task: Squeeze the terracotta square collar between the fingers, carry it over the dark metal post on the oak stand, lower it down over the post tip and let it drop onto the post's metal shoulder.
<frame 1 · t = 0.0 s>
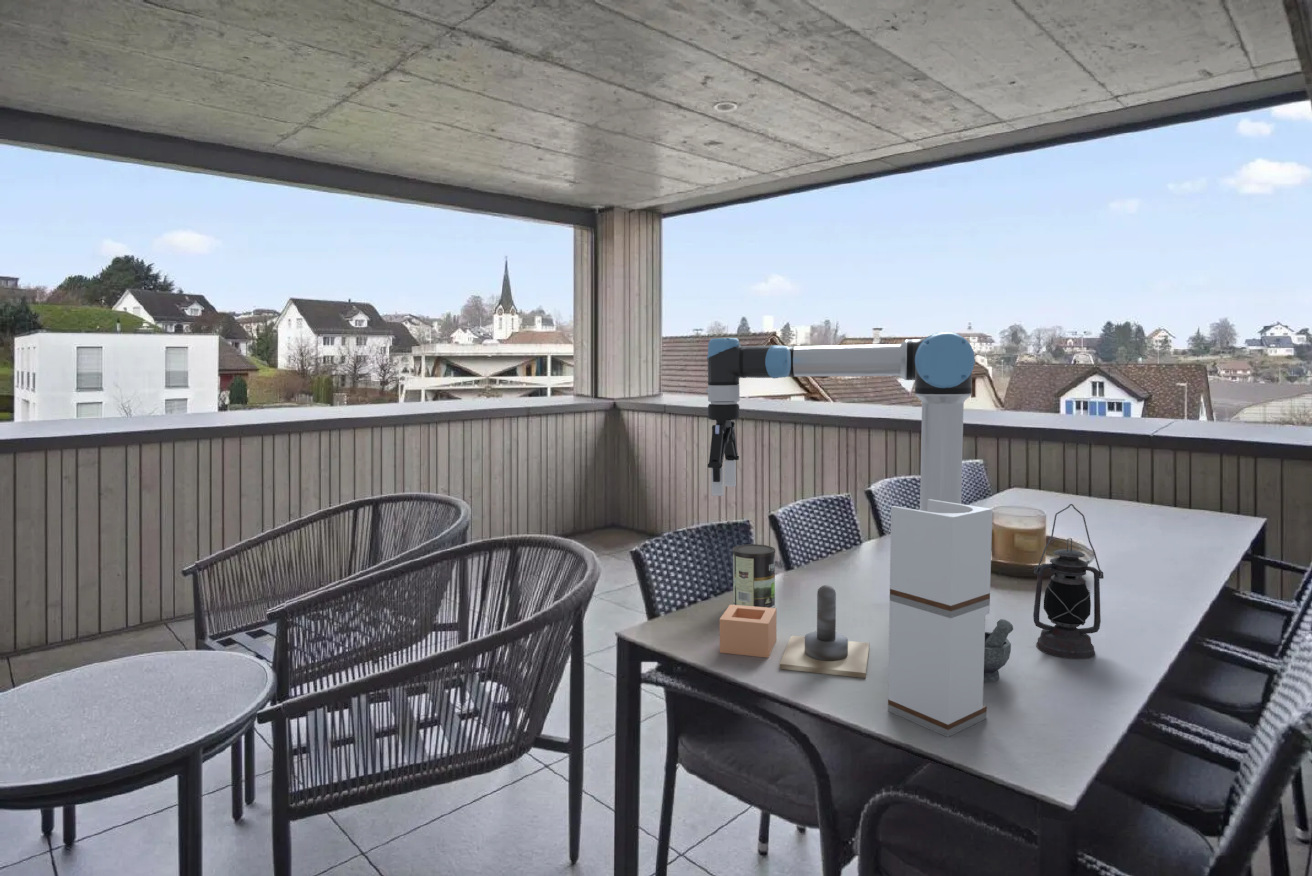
hand: (724, 490, 186), 28 cm above the table, tool pointing down, fingers open, 13 cm apart
coffee can: (753, 606, 187), on the table
mortar and pestle: (983, 677, 143), on the table
post stand: (826, 657, 153), on the table
lantern: (1065, 650, 156), on the table
square collar: (748, 646, 160), on the table
white square vase: (936, 715, 128), on the table
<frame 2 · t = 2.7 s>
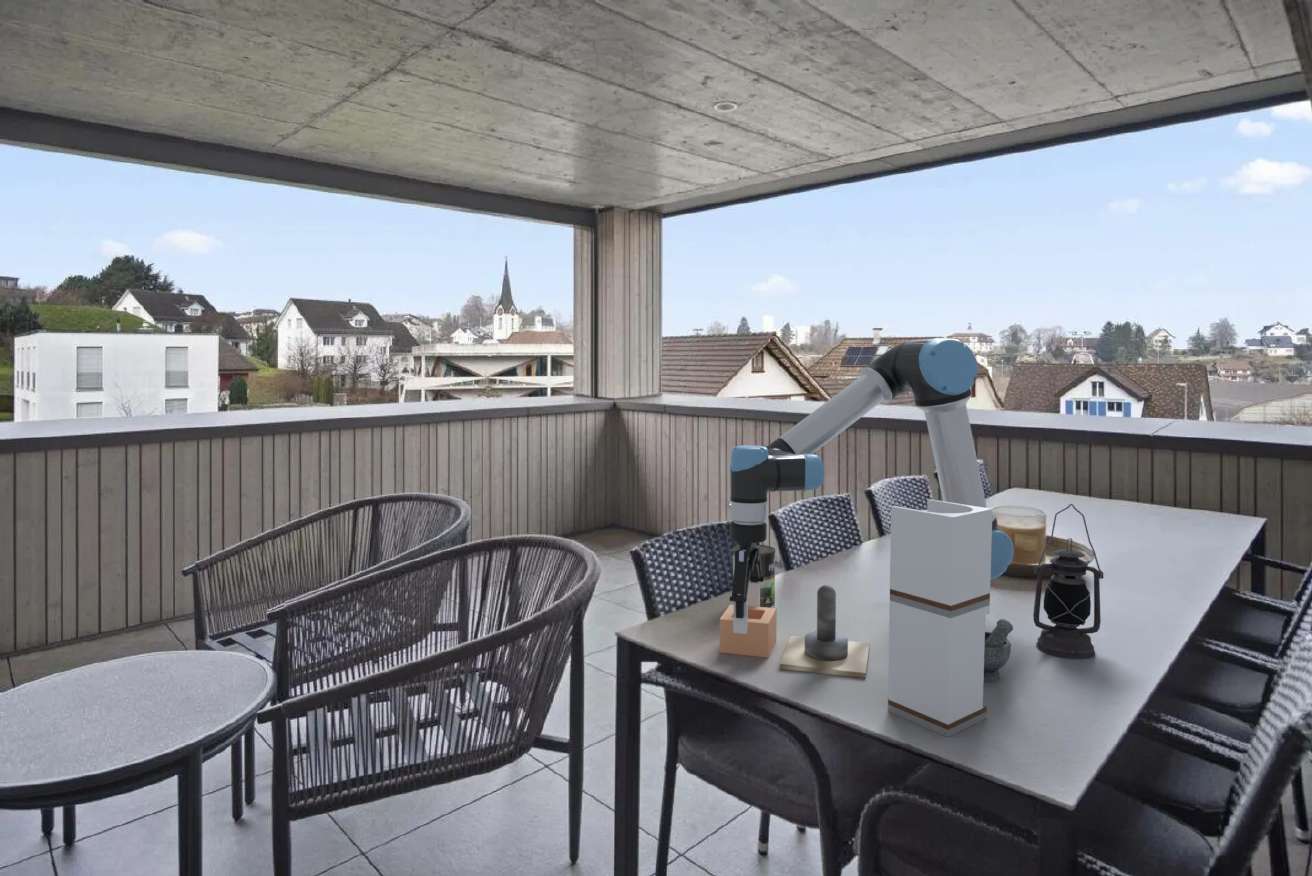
hand: (747, 622, 159), 5 cm above the table, tool pointing down, fingers open, 13 cm apart
nothing on the table moved.
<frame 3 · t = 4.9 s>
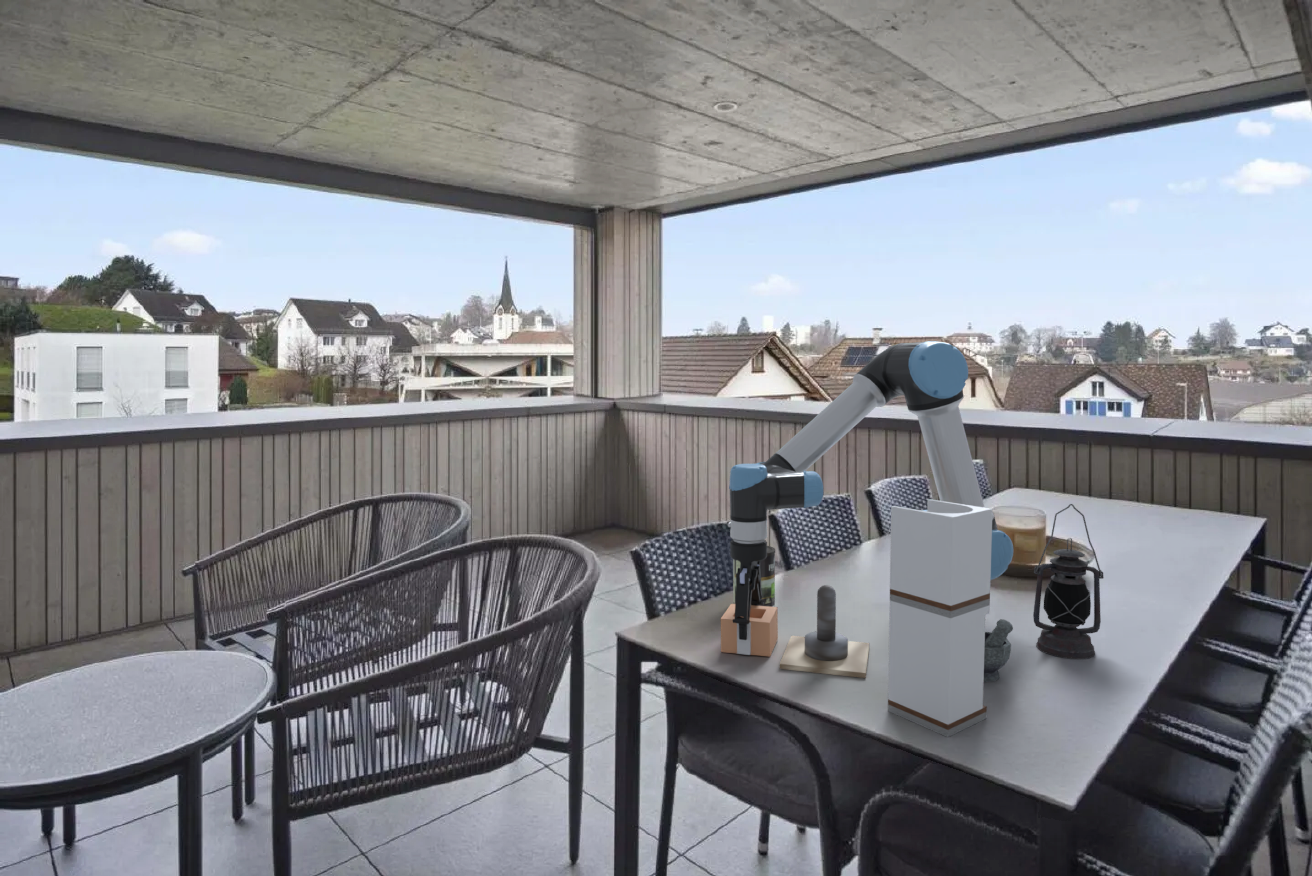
hand: (749, 644, 160), 0 cm above the table, tool pointing down, fingers closed on square collar, 10 cm apart
square collar: (750, 645, 160), on the table, touching gripper
everything else where it was.
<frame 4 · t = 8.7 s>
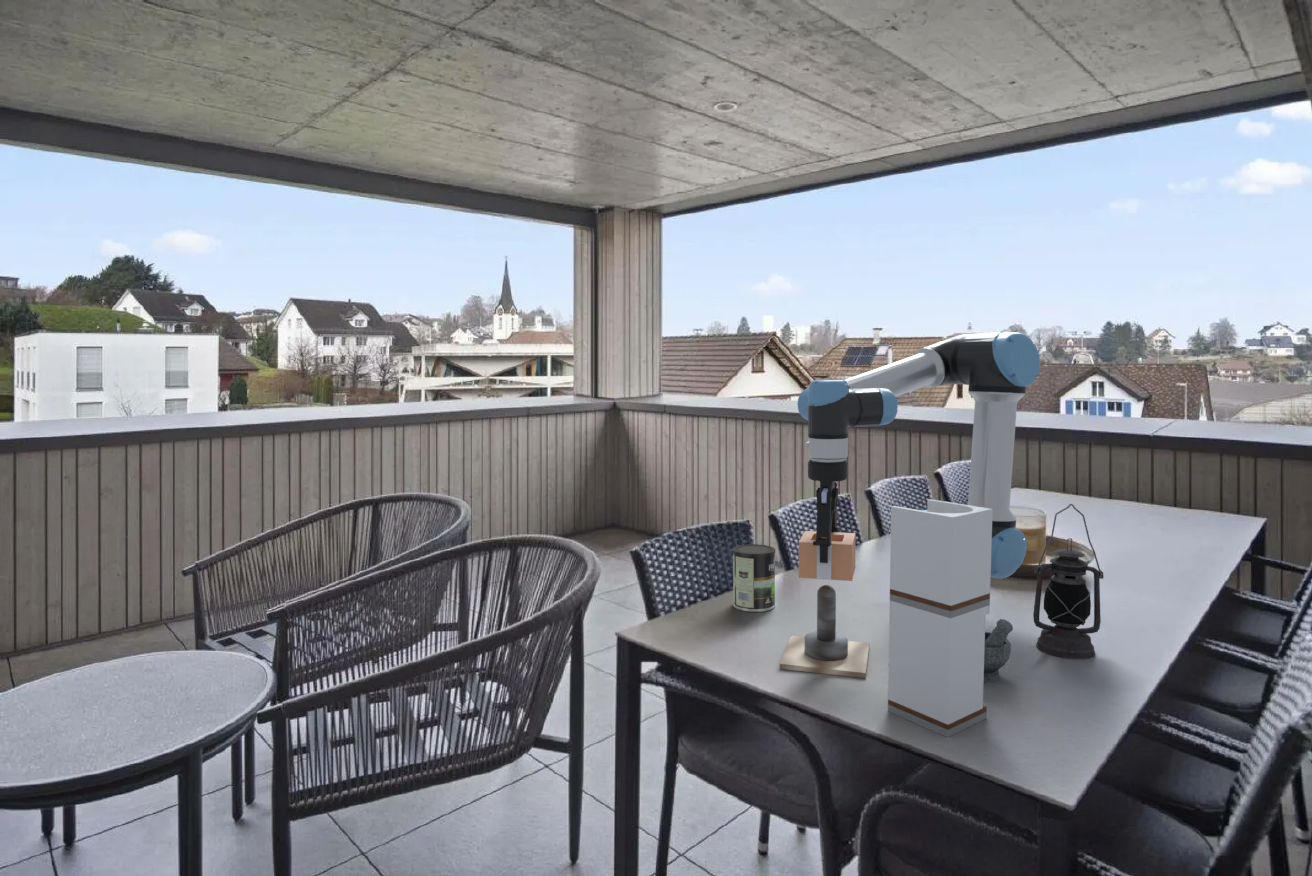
hand: (826, 571, 151), 18 cm above the table, tool pointing down, fingers closed on square collar, 10 cm apart
square collar: (827, 572, 151), point 17 cm above the table, touching gripper
everything else where it was.
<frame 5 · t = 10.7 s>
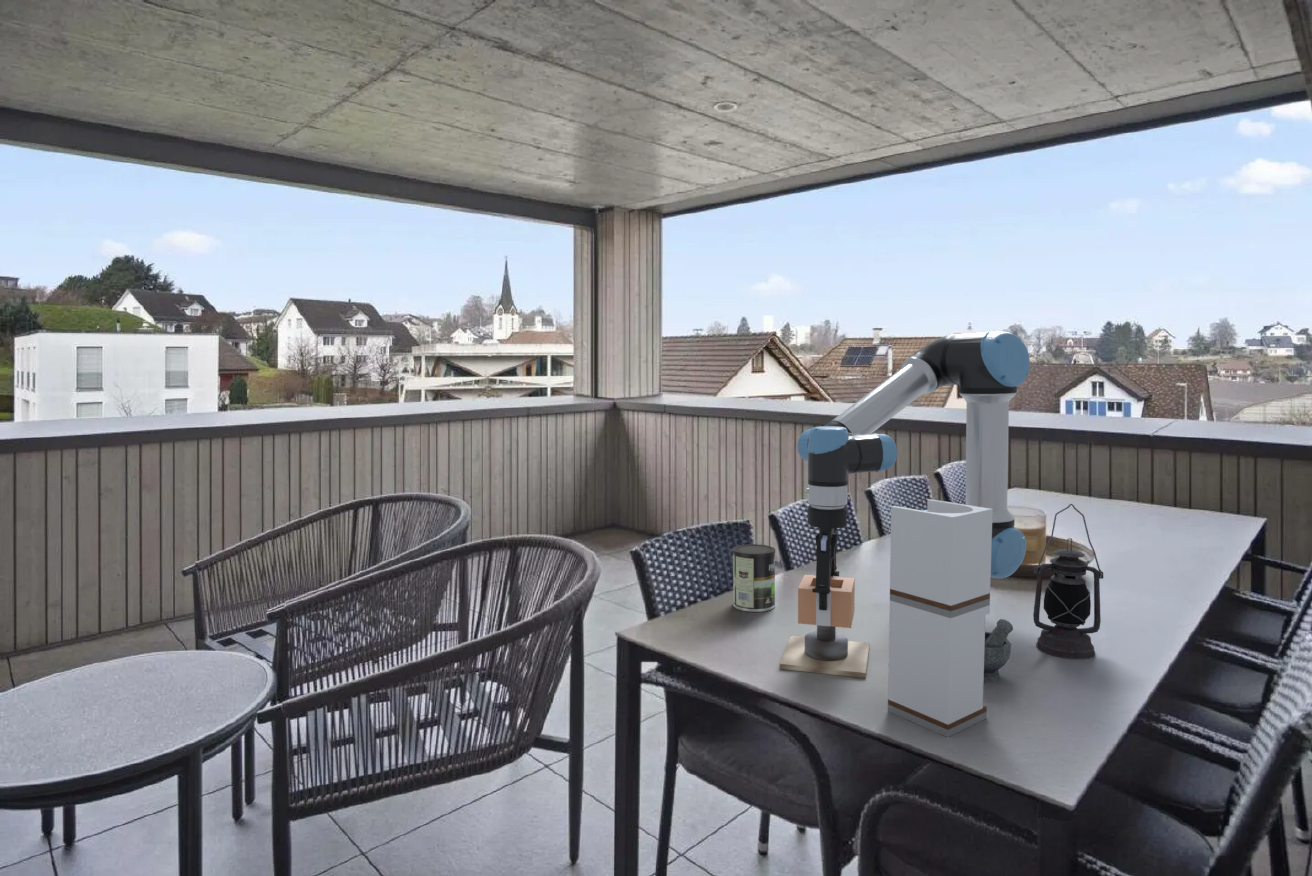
hand: (825, 616, 152), 9 cm above the table, tool pointing down, fingers closed on square collar, 10 cm apart
square collar: (826, 617, 152), point 8 cm above the table, touching gripper
everything else where it was.
when the fingers open (5 cm above the table, at t = 12.5 s): square collar stays where it is, resting on post stand.
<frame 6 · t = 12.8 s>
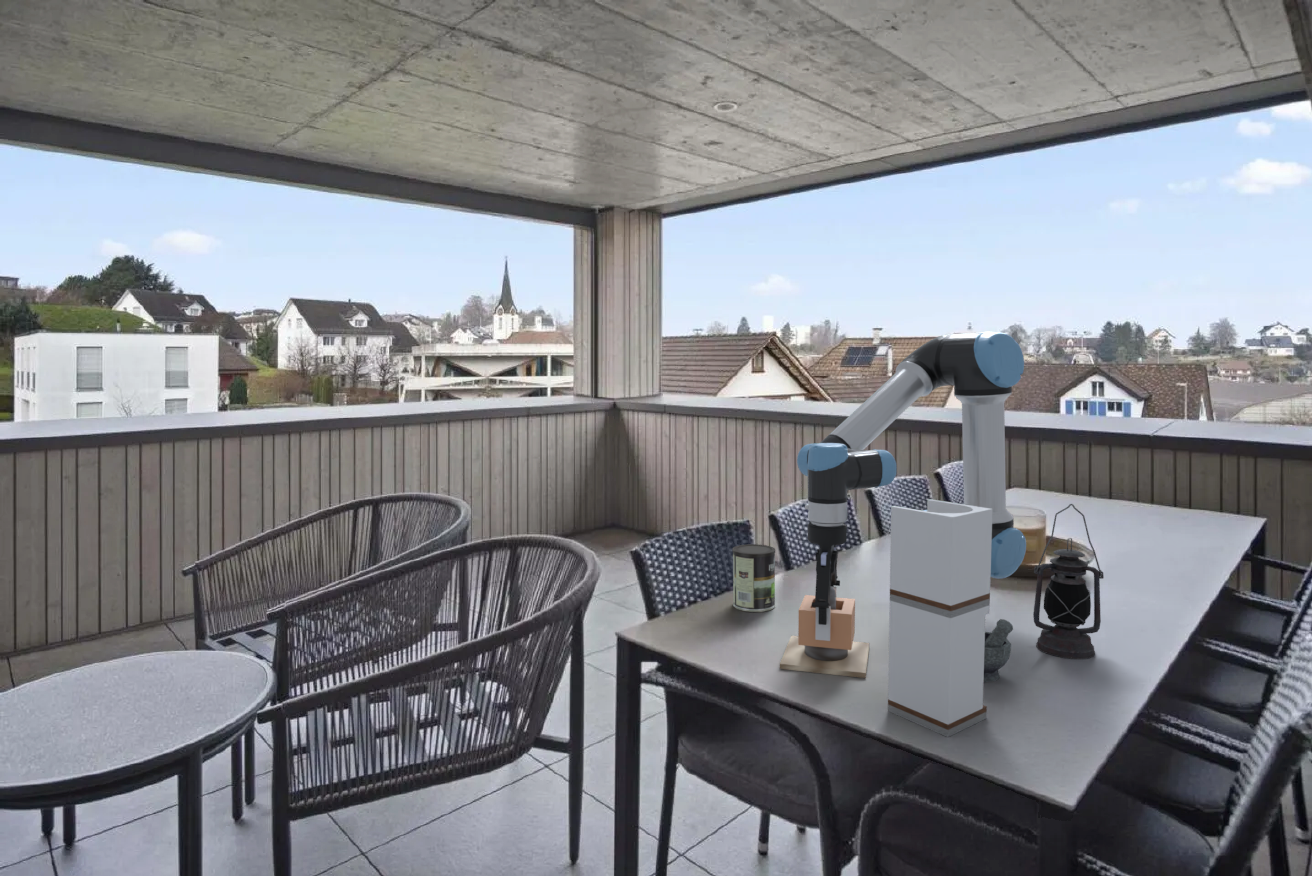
hand: (826, 628, 152), 6 cm above the table, tool pointing down, fingers open, 13 cm apart
square collar: (827, 638, 153), point 4 cm above the table, touching post stand
everything else where it was.
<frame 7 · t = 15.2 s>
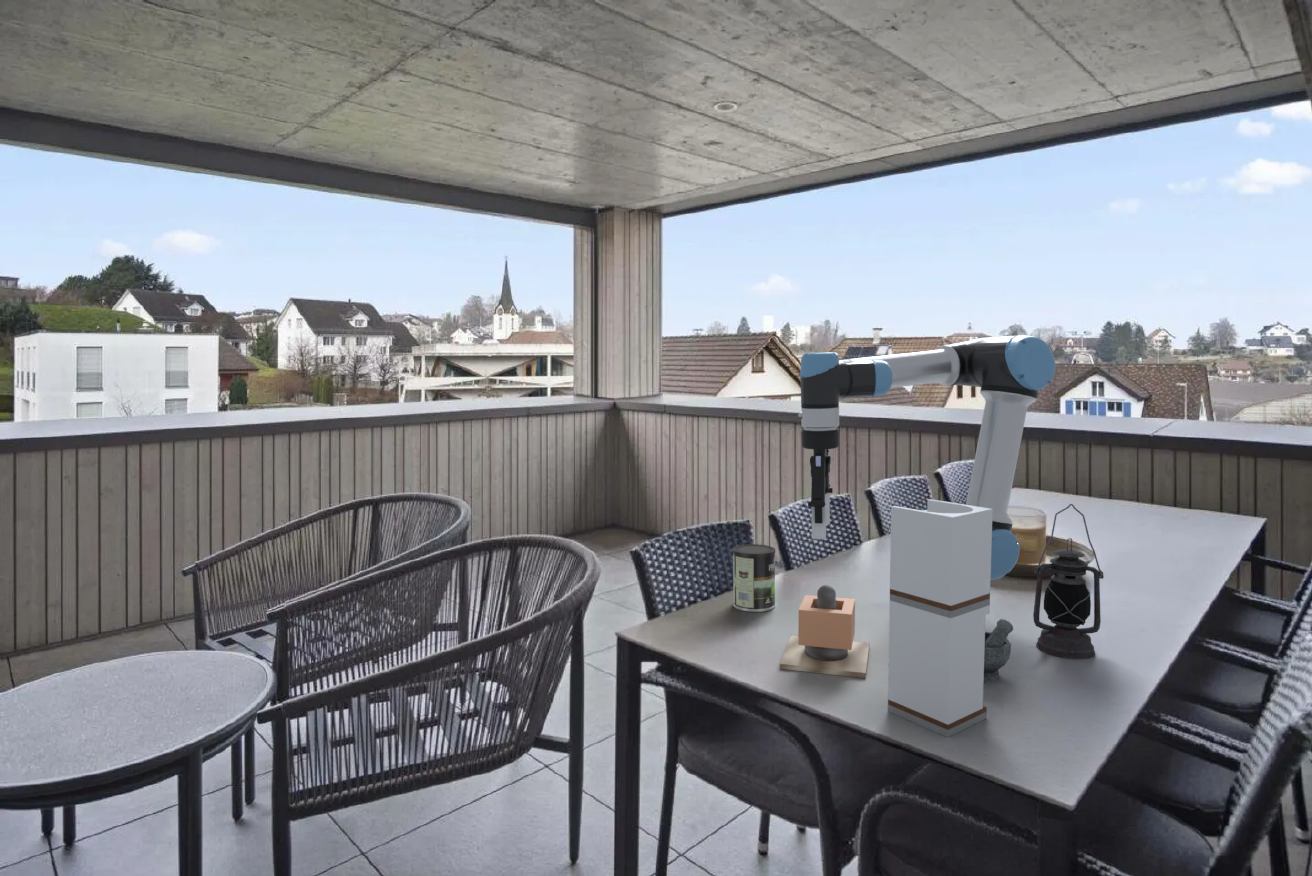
hand: (821, 531, 158), 24 cm above the table, tool pointing down, fingers open, 13 cm apart
nothing on the table moved.
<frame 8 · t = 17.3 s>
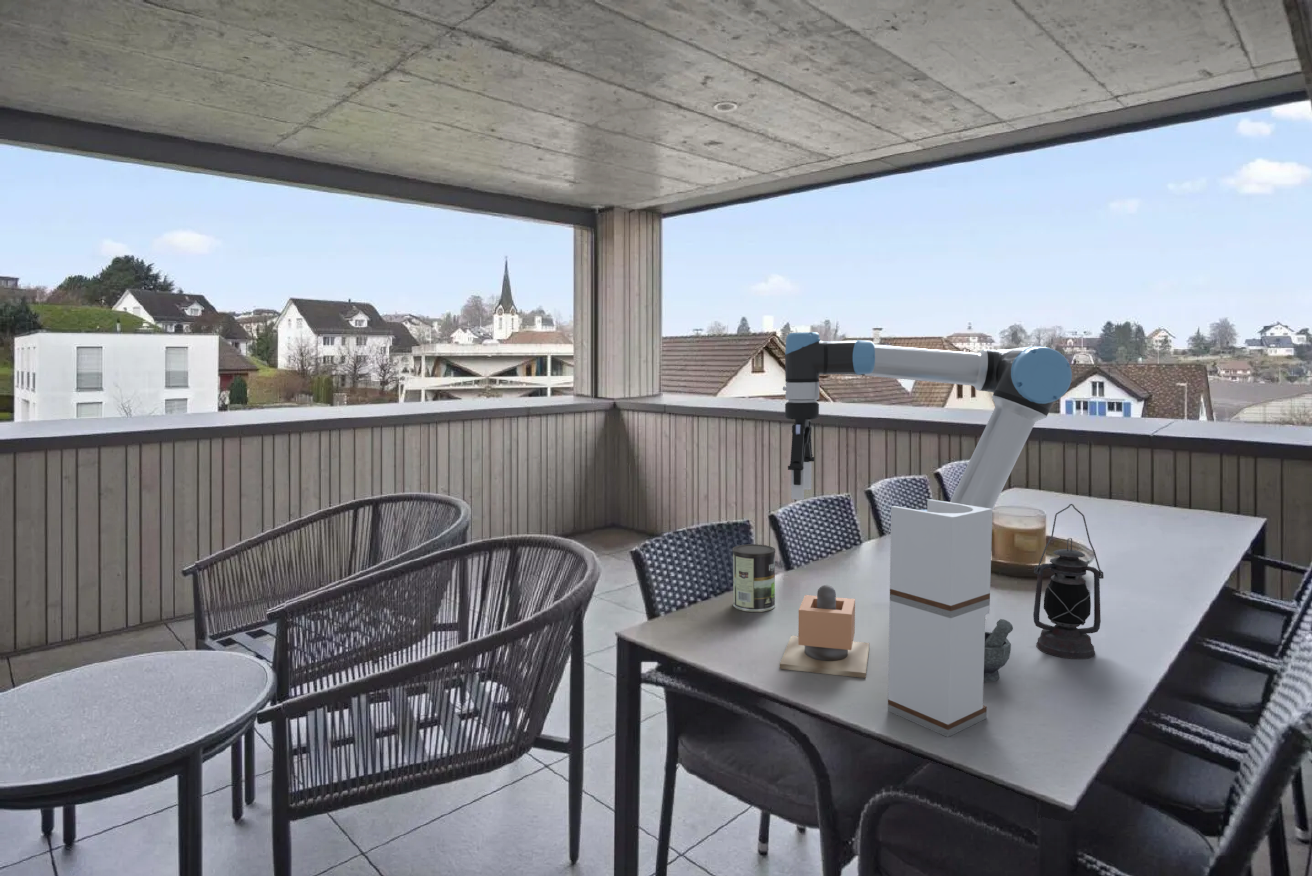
hand: (801, 494, 175), 29 cm above the table, tool pointing down, fingers open, 13 cm apart
nothing on the table moved.
at the end: square collar 0.2 cm off-centre on the post stand, point 4.0 cm above the post stand's base; the gripper is holding nothing; square collar tilted 0° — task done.
